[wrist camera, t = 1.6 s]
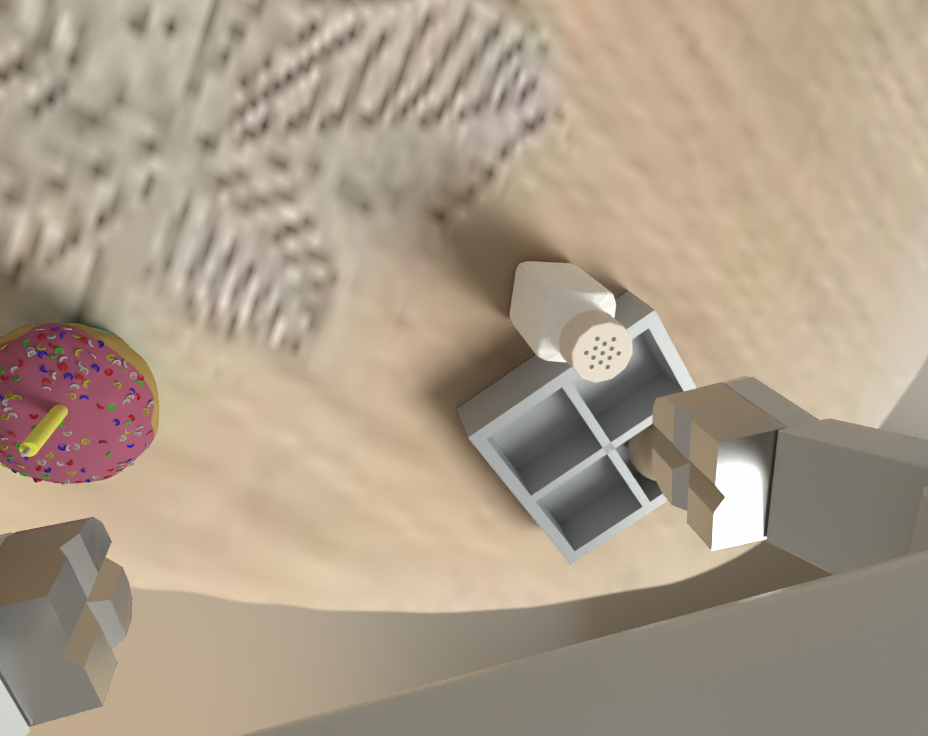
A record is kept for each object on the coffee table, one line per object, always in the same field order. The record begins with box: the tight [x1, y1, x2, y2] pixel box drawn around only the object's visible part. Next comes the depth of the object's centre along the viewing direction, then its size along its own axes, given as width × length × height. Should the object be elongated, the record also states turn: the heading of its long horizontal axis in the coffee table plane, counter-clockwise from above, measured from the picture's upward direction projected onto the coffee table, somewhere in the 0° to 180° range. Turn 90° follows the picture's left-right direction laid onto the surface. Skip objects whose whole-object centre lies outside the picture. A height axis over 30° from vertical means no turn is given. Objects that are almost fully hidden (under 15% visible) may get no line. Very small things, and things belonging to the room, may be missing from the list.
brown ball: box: [628, 424, 661, 481], centre depth 43 cm, size 5×5×5 cm
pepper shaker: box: [509, 261, 633, 383], centre depth 35 cm, size 4×4×10 cm
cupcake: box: [0, 323, 159, 485], centre depth 31 cm, size 9×8×12 cm
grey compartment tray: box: [456, 291, 696, 564], centre depth 43 cm, size 13×13×4 cm
